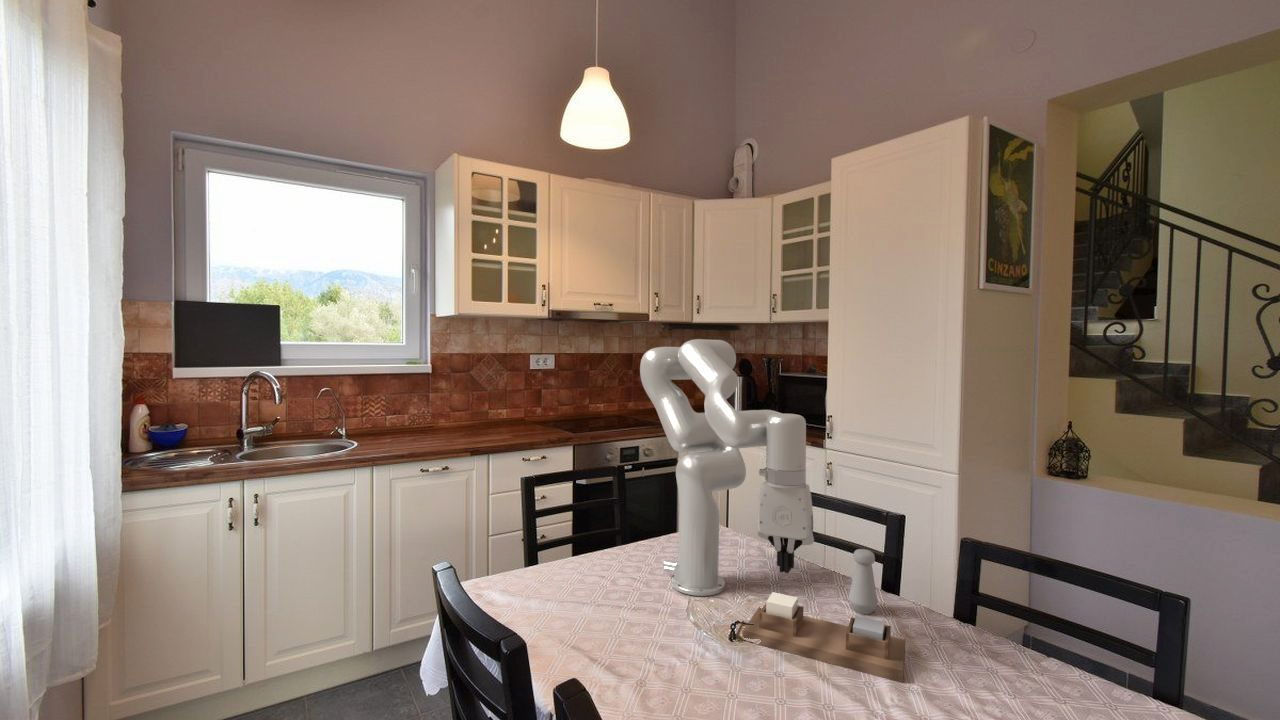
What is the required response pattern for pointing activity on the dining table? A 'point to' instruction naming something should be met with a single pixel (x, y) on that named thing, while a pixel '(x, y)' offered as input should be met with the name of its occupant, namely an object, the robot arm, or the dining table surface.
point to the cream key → (782, 605)
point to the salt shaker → (863, 583)
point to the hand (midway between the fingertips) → (785, 570)
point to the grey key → (869, 627)
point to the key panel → (829, 643)
